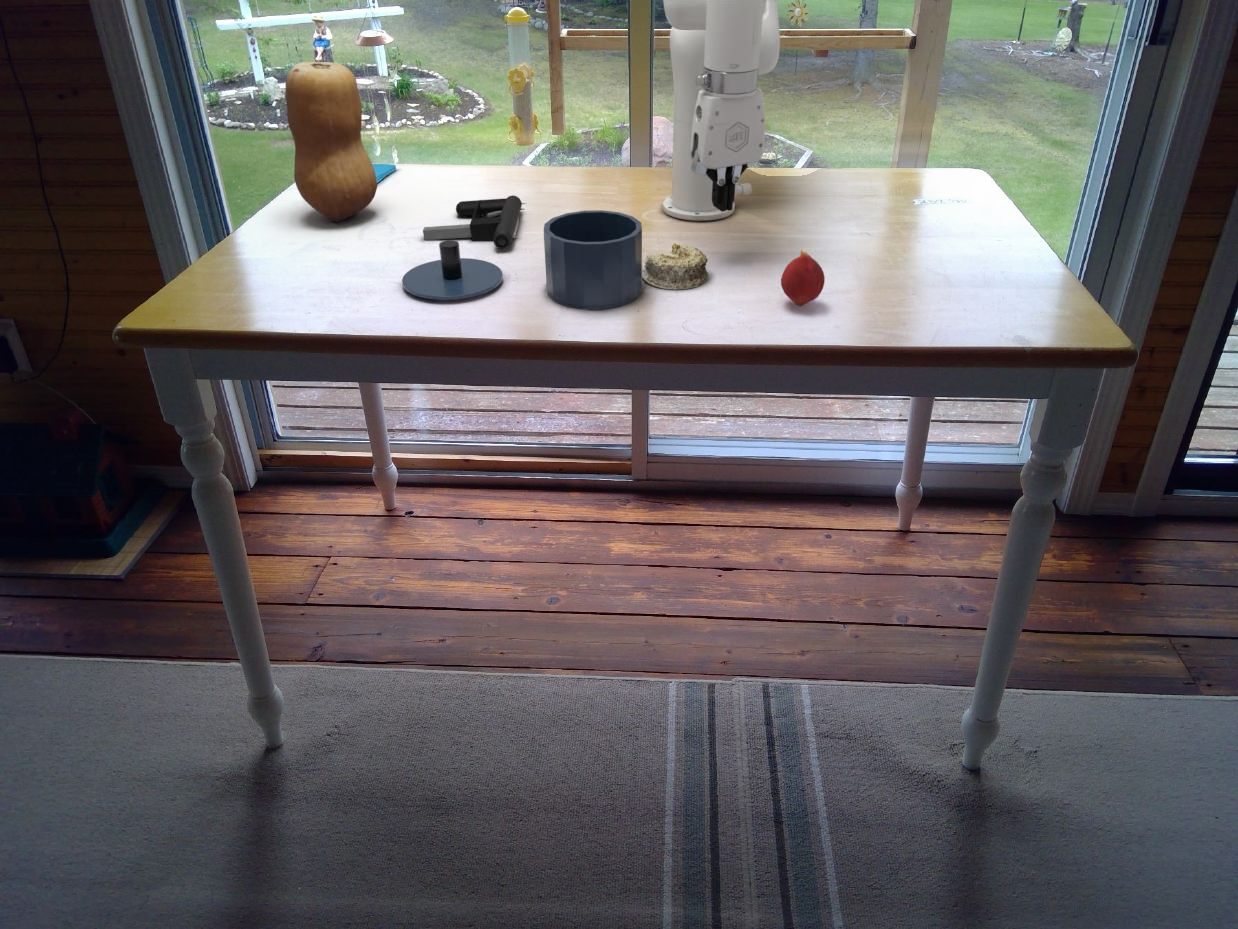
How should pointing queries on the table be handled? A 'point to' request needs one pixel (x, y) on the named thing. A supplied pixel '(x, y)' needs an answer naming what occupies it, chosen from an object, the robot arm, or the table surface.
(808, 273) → the onion
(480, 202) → the door handle
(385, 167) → the sponge
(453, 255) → the pot lid
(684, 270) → the cake
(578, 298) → the pot
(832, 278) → the table surface
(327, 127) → the butternut squash
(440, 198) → the table surface
